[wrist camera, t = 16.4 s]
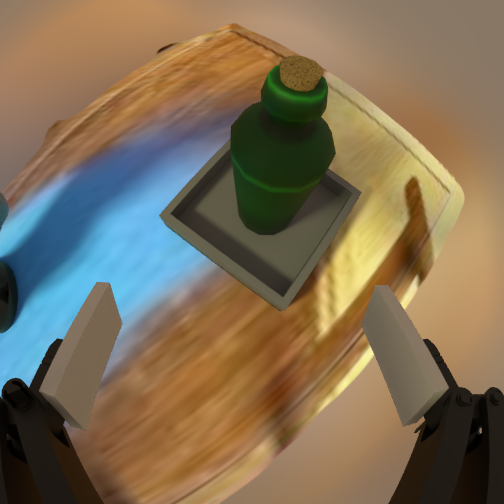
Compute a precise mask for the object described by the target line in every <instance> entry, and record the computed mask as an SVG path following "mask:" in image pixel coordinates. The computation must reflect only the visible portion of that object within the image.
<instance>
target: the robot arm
mask: <svg viewBox="0 0 504 504" xmlns="http://www.w3.org/2000/svg"><path fill="white" fill-rule="evenodd" d="M8 213H9V206H8V203H7V201H6V199H5V198H4V196H3V195H2V193H1V192H0V230H1V227H2V225H3V223H4V221H5V220H6V218H7V216H8ZM16 308H17V285H16V280H15V277H14V274H13V272H12V270H11V268H10V267H9V266H8V265H7V264H6V263H4V262H2V261H0V333H3V332H5V331H6V330H7V329H8V328H9V327H10V326H11V324H12V322H13V319H14V317H15V313H16ZM121 326H122V321H121V318H120V315H119V312H118V308H117V305H116V302H115V299H114V296H113V292H112V289H111V285H110V283H105V282H97V283H96V284H95V286H94V287H93V289H92V291H91V292H90V294H89V295H88V297H87V299H86V300H85V302H84V304H83V306H82V307H81V309H80V311H79V312H78V314H77V316H76V318H75V319H74V321H73V323H72V325H71V327H70V328H69V330H68V332H67V334H66V336H65V338H64V340H63V339H58V338H57V339H56V340H55V341H54V342H53V343H52V344H51V345H50V346H49V348H48V350H47V352H46V354H45V357H44V358H43V360H42V364H40V366H39V368H38V370H37V372H36V374H35V376H34V378H33V380H32V383H31V385H30V387H29V388H28V386H27V385H26V384H25V383H24V382H23V381H22V380H21V379H19V378H13V379H10V380H9V381H7V382H6V384H5V385H4V386H3V389H2V397H3V398H1V397H0V504H104V503H103V501H102V500H101V498H100V496H99V495H98V493H97V491H96V490H95V488H94V486H93V484H92V483H91V481H90V479H89V477H88V475H87V473H86V472H85V470H84V468H83V466H82V464H81V462H80V460H79V458H78V456H77V454H76V451H75V449H74V447H73V445H72V443H71V440H70V438H69V436H68V433H67V431H66V429H65V427H64V426H63V424H64V421H65V420H66V421H67V422H68V423H69V424H70V425H71V426H73V427H76V428H79V429H83V430H86V427H87V424H88V420H89V417H90V414H91V410H92V407H93V404H94V401H95V397H96V394H97V391H98V388H99V385H100V382H101V379H102V377H103V374H104V371H105V368H106V365H107V362H108V360H109V357H110V354H111V352H112V349H113V346H114V344H115V341H116V339H117V336H118V334H119V331H120V329H121ZM361 326H362V328H363V330H364V332H365V334H366V337H367V339H368V341H369V343H370V346H371V348H372V350H373V353H374V355H375V357H376V360H377V362H378V364H379V367H380V369H381V371H382V373H383V376H384V379H385V381H386V383H387V386H388V388H389V391H390V393H391V396H392V399H393V401H394V404H395V406H396V409H397V412H398V414H399V417H400V419H401V422H402V425H403V426H406V425H410V424H413V423H416V422H417V421H418V420H419V419H420V418H421V417H422V416H424V418H425V421H424V422H423V423H422V424H421V425H420V426H419V427H418V428H417V429H416V430H415V432H414V433H417V432H418V431H419V430H420V429H421V430H420V433H419V436H418V438H417V441H416V444H415V447H414V449H413V452H412V454H411V457H410V459H409V462H408V464H407V466H406V469H405V471H404V473H403V476H402V478H401V480H400V482H399V484H398V486H397V488H396V490H395V492H394V494H393V496H392V498H391V500H390V502H389V504H504V395H503V393H502V392H501V391H500V390H499V389H498V388H495V387H491V388H489V389H488V390H487V391H486V392H485V394H472V393H471V392H470V391H469V390H467V389H466V388H462V387H458V385H457V383H456V381H455V380H454V378H453V376H452V374H451V372H450V370H449V369H448V367H447V365H446V363H445V362H444V360H443V358H442V356H440V353H439V351H438V349H437V348H436V347H435V345H434V344H433V343H432V342H431V341H430V340H428V339H423V340H422V338H421V337H420V335H419V333H418V331H417V330H416V328H415V326H414V325H413V323H412V321H411V320H410V318H409V317H408V315H407V314H406V312H405V310H404V309H403V307H402V306H401V304H400V302H399V301H398V299H397V298H396V296H395V295H394V293H393V292H392V290H391V289H390V287H389V286H388V285H375V288H374V291H373V294H372V297H371V300H370V303H369V305H368V308H367V311H366V313H365V316H364V319H363V321H362V324H361ZM481 427H482V433H481V434H480V432H479V429H480V428H481Z"/></svg>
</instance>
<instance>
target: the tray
mask: <svg viewBox="0 0 504 504" xmlns="http://www.w3.org/2000/svg"><path fill="white" fill-rule="evenodd" d="M230 142H231V139H230V140H229V141H228V142H227V143H226V144H225V145H224V146H223V147H222V148H221V149H220V150H219V151H218V152H217V153H216V154H215V155H214V156H213V157H212V158H211V159H210V160H209V161H208V162H207V163H206V164H205V165H204V166H203V167H202V168H201V169H200V170H199V171H198V172H197V174H196V175H195V176H194V177H193V178H192V179H191V180H190V181H189V182H188V183H187V184H186V185H185V187H184V188H183V189H182V190H181V191H180V192H179V193H178V194H177V195H176V197H175V198H174V199H173V200H172V201H171V202H170V203H169V205H168V206H167V207H166V208H165V209H164V210H163V212H162V213H161V214H160V215H159V216H160V217H161V219H162V220H163V222H164V223H165V225H166V226H167V227H168V228H170V229H171V230H172V231H174V232H175V233H176V234H177V235H179V236H180V237H181V238H183V239H184V240H185V241H187V242H188V243H189V244H190V245H192V246H193V247H194V248H196V249H197V250H198V251H200V252H201V253H202V254H203V255H205V256H206V257H207V258H209V259H210V260H211V261H213V262H214V263H215V264H217V265H218V266H219V267H221V268H222V269H223V270H225V271H226V272H227V273H229V274H230V275H231V276H233V277H234V278H235V279H237V280H238V281H239V282H241V283H242V284H244V285H245V286H246V287H248V288H249V289H250V290H252V291H253V292H254V293H256V294H257V295H259V296H260V297H261V298H263V299H264V300H265V301H267V302H268V303H270V304H271V305H272V306H274V307H275V308H277V309H278V310H279V311H283V310H286V308H287V307H288V305H289V304H290V302H291V301H292V300H293V298H294V297H295V295H296V294H297V292H298V291H299V290H300V288H301V287H302V285H303V284H304V282H305V281H306V279H307V278H308V276H309V275H310V273H311V272H312V270H313V269H314V267H315V266H316V264H317V263H318V261H319V260H320V258H321V257H322V255H323V254H324V252H325V251H326V249H327V248H328V246H329V244H330V243H331V241H332V240H333V238H334V237H335V235H336V234H337V232H338V230H339V229H340V227H341V226H342V224H343V222H344V221H345V219H346V218H347V216H348V214H349V213H350V211H351V209H352V208H353V206H354V204H355V203H356V201H357V199H358V198H359V196H360V194H361V193H362V192H360V191H359V190H358V189H356V188H355V187H354V186H352V185H351V184H349V183H348V182H347V181H345V180H344V179H342V178H341V177H340V176H338V175H337V174H335V173H334V172H333V171H331V170H330V169H328V170H327V171H326V173H325V175H324V176H323V177H322V179H321V180H320V182H319V183H318V184H317V186H316V187H315V189H314V190H313V191H312V193H311V194H310V196H309V197H308V198H307V200H306V201H305V203H304V204H303V205H302V207H301V208H300V210H299V211H298V212H297V214H296V215H295V216H294V218H293V219H292V221H291V222H290V223H289V225H288V226H287V227H286V228H285V229H284V230H282V231H280V232H278V233H276V234H275V235H258V234H256V233H255V232H253V231H251V230H249V229H247V228H246V227H245V225H244V224H243V222H242V220H241V219H240V217H239V214H238V206H237V198H236V190H235V182H234V174H233V166H232V158H231V150H230Z"/></svg>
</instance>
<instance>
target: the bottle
mask: <svg viewBox="0 0 504 504" xmlns="http://www.w3.org/2000/svg"><path fill="white" fill-rule="evenodd" d="M322 75H323V70H322V67H321V66H319V64H317V63H316V62H315V61H313V60H311V59H308V58H306V57H301V56H289V57H285V58H284V59H282V60H281V61H280V65H277V66H275V67H274V68H273V69H272V70H271V71H270V72H269V73H268V76H267V78H266V80H265V83H264V85H263V87H262V90H261V102H258V103H256V104H253V105H251V106H250V107H248V108H247V109H245V110H244V112H243V113H242V114H241V115H240V116H239V117H238V119H237V120H236V121H235V122H234V123H233V125H232V126H231V142H230V150H231V158H232V166H233V174H234V182H235V190H236V198H237V206H238V214H239V217H240V219H241V220H242V222H243V224H244V225H245V227H246V228H247V229H249V230H251V231H253V232H255V233H256V234H258V235H275V234H276V233H278V232H280V231H282V230H284V229H285V228H286V227H287V226H288V225H289V223H290V222H291V221H292V219H293V218H294V216H295V215H296V214H297V212H298V211H299V210H300V208H301V207H302V205H303V204H304V203H305V201H306V200H307V198H308V197H309V196H310V194H311V193H312V191H313V190H314V189H315V187H316V186H317V184H318V183H319V182H320V180H321V179H322V177H323V176H324V175H325V173H326V171H327V170H328V168H329V166H330V164H331V162H332V160H333V158H334V156H335V154H336V152H335V147H334V142H333V137H332V132H331V130H330V128H329V126H328V124H327V123H326V122H325V121H324V120H323V118H322V117H321V116H322V114H323V113H324V111H325V109H326V106H327V95H328V86H327V83H326V79H325V78H324V77H323V76H322Z"/></svg>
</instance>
